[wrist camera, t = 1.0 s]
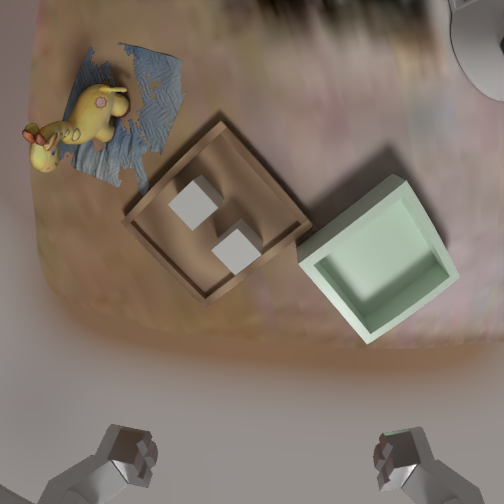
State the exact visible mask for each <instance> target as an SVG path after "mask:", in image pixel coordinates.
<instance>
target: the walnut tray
mask: <svg viewBox="0 0 504 504" xmlns="http://www.w3.org/2000/svg"><path fill="white" fill-rule="evenodd" d="M201 174H202V175H203V176H204V177H205V178H206V179H207V181H208V182H209V183H210V184H211V185H212V186H213V187H214V188H215V189H216V190H217V191H218V193H219V194H220V195H221V196H222V197H223V198H224V201H223V202H222V203H221V205H220V206H219V208H218V209H216V210H215V211H214V212H213V213H212V214H211V215H210V216H209V217H207V218H206V219H205V220H204V221H203V222H202V223H201V224H200V225H198V226H197V227H196V228H195V229H194V230H193V231H192V230H191V229H190V228H189V227H188V226H187V225H186V224H185V222H184V221H183V220H182V219H181V218H180V217H179V216H178V215H177V214H176V213H175V212H174V211H173V210H172V209H171V208H170V206H169V205H168V204H169V203H170V202H171V201H172V200H173V199H174V198H175V197H176V196H177V195H178V194H179V193H180V192H181V191H182V190H183V189H184V188H185V187H186V186H187V185H188V184H189V183H190V182H192V181H193V180H194V179H195V178H197V177H198V176H200V175H201ZM241 218H242V219H243V220H244V221H245V222H246V223H247V224H248V225H249V226H250V227H251V229H252V230H253V231H254V232H255V233H256V234H257V235H258V236H259V237H260V238H261V240H262V241H263V242H264V243H263V250H262V255H261V256H260V257H258V258H257V259H256V260H255V261H253V262H252V263H251V264H249V265H248V266H247V267H245V268H244V269H243V270H242V271H240V272H239V273H238V274H236V275H234V274H233V273H232V272H231V271H230V270H229V269H228V268H227V266H226V265H225V264H224V263H223V262H222V261H221V260H220V259H219V258H218V257H217V256H216V255H215V254H214V253H213V252H212V251H211V249H212V248H213V246H214V244H215V242H216V240H217V238H218V237H219V236H220V235H222V234H223V233H224V232H225V231H226V230H228V229H229V228H230V227H231V226H232V225H233V224H235V223H236V222H237V221H238V220H239V219H241ZM121 223H122V224H123V225H124V226H125V227H126V228H127V229H128V231H129V232H130V233H131V234H132V235H133V236H134V237H135V238H136V239H137V240H138V241H139V242H140V243H141V244H142V245H143V246H144V247H145V249H146V250H147V251H148V252H149V253H150V254H151V255H152V256H153V257H154V258H155V259H156V260H157V261H158V262H159V263H160V264H161V265H162V266H163V267H164V268H165V269H166V270H167V271H168V272H169V273H170V274H171V275H172V276H173V277H174V278H175V279H176V280H177V281H178V282H179V283H180V284H181V285H182V286H183V287H184V288H185V289H186V290H187V291H188V292H189V293H190V294H191V295H192V296H193V297H194V298H195V299H196V300H197V301H198V302H199V303H200V304H201V305H202V306H203V307H204V308H206V307H208V306H209V305H210V304H212V303H213V302H214V301H216V300H217V299H218V298H220V297H221V296H222V295H224V294H225V293H226V292H228V291H229V290H230V289H232V288H233V287H234V286H236V285H237V284H238V283H239V282H241V281H242V280H243V279H245V278H246V277H247V276H249V275H250V274H251V273H253V272H254V271H255V270H257V269H258V268H259V267H261V266H262V265H263V264H265V263H266V262H267V261H269V260H270V259H271V258H272V257H274V256H275V255H276V254H278V253H279V252H280V251H282V250H283V249H284V248H286V247H287V246H288V245H289V244H291V243H292V242H293V241H295V240H296V239H297V238H299V237H300V236H301V235H302V234H304V233H305V232H306V231H308V230H309V229H310V228H312V227H313V223H312V221H311V220H310V219H309V218H308V216H307V215H306V214H305V213H304V212H303V210H302V209H301V208H300V207H299V206H298V204H297V203H296V202H295V201H294V200H293V198H292V197H291V196H290V195H289V194H288V193H287V191H286V190H285V189H284V188H283V187H282V186H281V184H280V183H279V182H278V181H277V180H276V179H275V178H274V176H273V175H272V174H271V173H270V172H269V171H268V170H267V168H266V167H265V166H264V165H263V164H262V163H261V162H260V161H259V159H258V158H257V157H256V156H255V155H254V154H253V153H252V152H251V151H250V149H249V148H248V147H247V146H246V145H245V144H244V143H243V142H242V141H241V140H240V138H239V137H238V136H237V135H236V134H235V133H234V132H233V131H232V130H231V129H230V128H229V127H228V126H227V124H226V123H225V122H224V121H220V122H219V123H218V124H217V125H216V126H214V127H213V128H212V129H211V130H210V131H209V132H208V133H207V134H206V135H205V136H204V137H203V138H202V139H200V140H199V141H198V142H197V143H196V144H195V145H194V146H193V147H192V148H191V149H190V150H189V151H188V152H187V153H186V154H185V155H184V156H183V157H182V158H181V159H180V160H179V161H178V162H177V163H176V164H175V165H174V166H173V167H172V168H171V169H170V170H169V171H168V172H167V173H166V174H165V175H164V176H163V177H162V178H161V179H160V180H159V181H158V182H157V183H156V184H155V185H154V186H153V187H152V188H151V190H150V191H149V192H148V193H147V194H146V195H145V196H144V197H143V198H142V199H141V200H140V201H139V202H138V204H137V205H136V206H135V207H134V208H133V209H132V210H131V211H130V212H129V214H128V215H127V216H126V217H125V218H124V219H123V220H122V221H121Z"/></svg>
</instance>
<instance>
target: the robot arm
mask: <svg viewBox="0 0 504 504" xmlns="http://www.w3.org/2000/svg"><path fill="white" fill-rule="evenodd" d="M449 3H450V7H451V10H452V23H451V39H452V44H453V48H454V52H455V54H456V57H457V59H458V62H459V64H460V66H461V67H462V69H463V71H464V73H465V74H466V76H467V77H468V78H469V80H470V81H471V82H472V83H473V84H474V85H475V86H476V87H477V88H478V89H479V90H480V91H481V92H482V93H484V94H485V95H487V96H488V97H490V98H492V99H495V100H498V101H504V0H464V1H463V0H449ZM151 439H152V435H151V433H150V431H144V430H139V429H134V428H129V427H124V426H120V425H114V424H111V425H110V426H109V427H108V429H107V431H106V433H105V435H104V437H103V439H102V441H101V444H100V446H99V448H98V450H97V452H96V454H95V456H94V455H90V456H89V457H87V458H86V459H84V460H82V461H81V462H79V463H78V464H76V465H74V466H73V467H71V468H69V469H68V470H66V471H64V472H63V473H61V474H59V475H58V476H56V477H54V478H52V479H51V480H49V482H48V484H47V486H46V487H45V490H44V491H43V494H42V496H41V497H40V500H39V502H38V504H106V503H107V502H108V501H109V500H111V499H112V498H113V497H114V496H115V495H116V494H118V493H119V492H120V491H121V490H122V489H124V488H125V487H126V486H127V485H128V484H132V485H137V486H142V487H147V488H148V487H149V484H150V481H151V477H152V475H153V474H152V472H151V470H150V469H151V468H152V467H153V466H155V464H156V462H157V457H158V449H157V446H156V443H154V442H153V441H152V440H151ZM379 441H380V443H379V444H377V445H376V447H375V450H374V456H373V458H374V466H375V468H376V469H377V470H378V471H379V472H380V473H379V475H378V477H377V480H378V485H379V489H380V492H381V491H387V490H393V489H398V488H401V489H402V490H403V491H404V492H405V493H406V494H407V495H408V496H409V497H410V498H411V499H412V500H413V501H414V502H415V503H416V504H485V503H484V501H483V498H482V495H481V492H480V489H479V488H478V487H476V486H475V485H473V484H472V483H471V482H469V481H468V480H466V479H465V478H463V477H462V476H461V475H459V474H457V473H456V472H455V471H453V470H452V469H451V468H449V467H448V466H446V465H445V464H444V463H442V462H441V461H440V460H435V459H434V457H433V454H432V451H431V448H430V446H429V443H428V440H427V438H426V435H425V432H424V430H423V428H422V427H415V428H410V429H404V430H398V431H392V432H387V433H382V434H381V435H380V437H379ZM0 504H34V503H32V502H30V501H28V500H27V499H25V498H23V497H21V496H19V495H18V494H16V493H14V492H12V491H11V490H9V489H7V488H6V487H4V486H2V485H1V484H0Z"/></svg>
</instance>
